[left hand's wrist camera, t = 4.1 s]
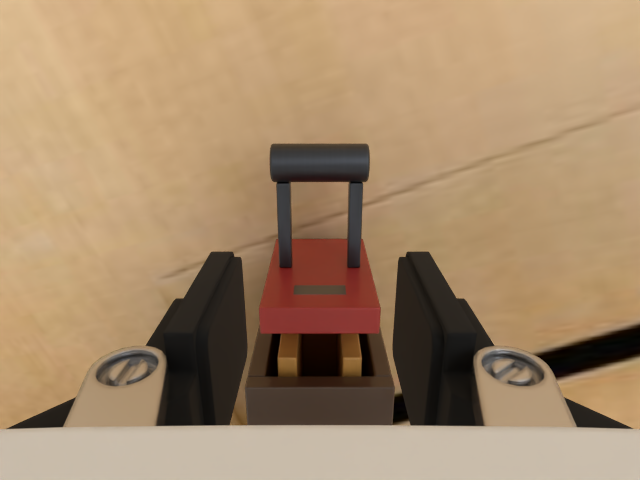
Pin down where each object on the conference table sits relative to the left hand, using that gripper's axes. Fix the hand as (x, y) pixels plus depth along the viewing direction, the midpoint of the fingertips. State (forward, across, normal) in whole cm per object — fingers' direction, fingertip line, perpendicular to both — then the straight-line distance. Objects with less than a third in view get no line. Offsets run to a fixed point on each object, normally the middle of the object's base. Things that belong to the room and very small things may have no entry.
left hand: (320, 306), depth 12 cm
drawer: (+13, 0, +7) cm, 15 cm away
